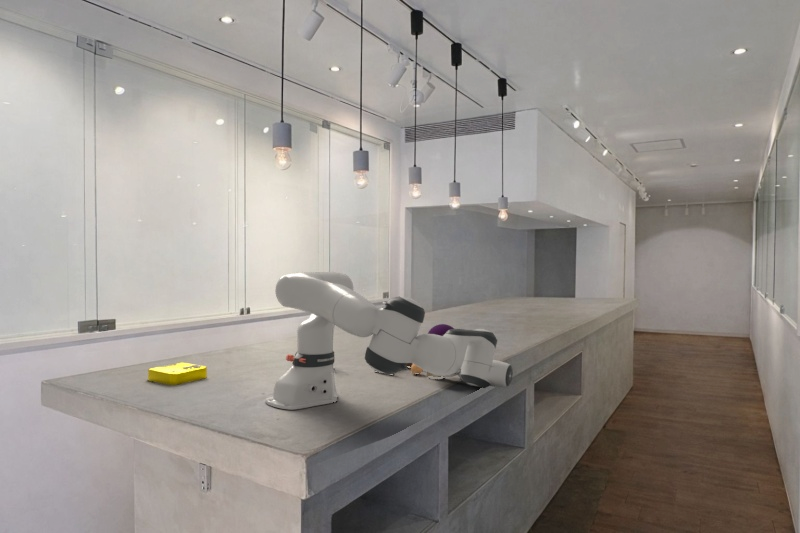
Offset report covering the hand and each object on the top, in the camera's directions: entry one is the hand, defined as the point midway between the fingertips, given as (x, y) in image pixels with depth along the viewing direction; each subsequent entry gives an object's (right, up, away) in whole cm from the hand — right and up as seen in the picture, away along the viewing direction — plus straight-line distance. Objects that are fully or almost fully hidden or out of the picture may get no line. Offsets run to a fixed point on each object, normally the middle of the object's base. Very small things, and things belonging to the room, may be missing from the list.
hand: (437, 363), depth 195 cm
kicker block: (0, -5, 0) cm, 5 cm away
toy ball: (+5, -5, +39) cm, 40 cm away
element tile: (-92, -5, -5) cm, 93 cm away
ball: (-7, -5, +6) cm, 11 cm away
